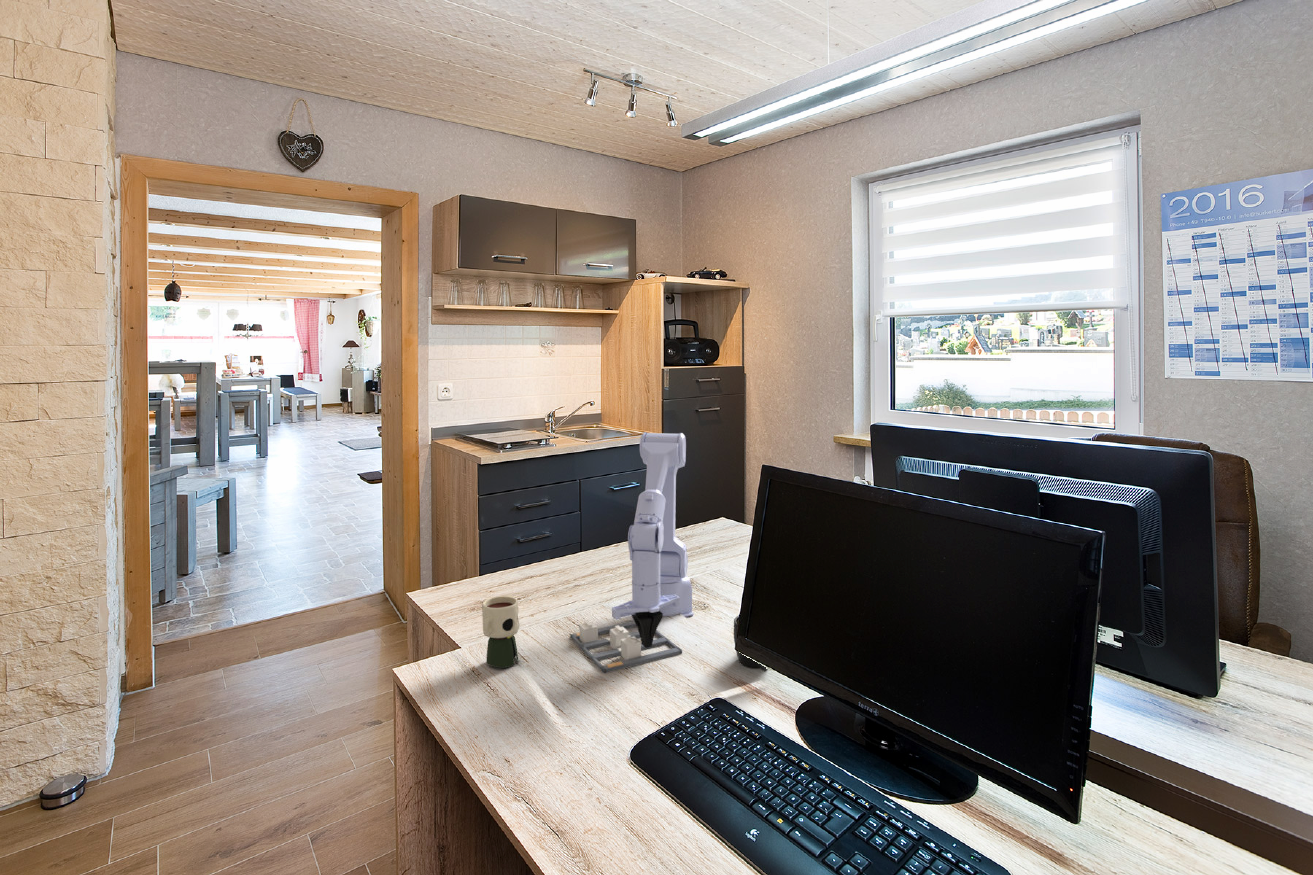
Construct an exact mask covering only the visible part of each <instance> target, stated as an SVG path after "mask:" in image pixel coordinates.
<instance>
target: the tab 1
mask: <svg viewBox="0 0 1313 875" xmlns="http://www.w3.org/2000/svg"><path fill="white" fill-rule="evenodd" d="M578 627H579V628H578V631H579V632H578V633H579V634H580V639H579V641H580V642H581V643H582V644H583V643H587V642H592V641H596V640H599V635H598V628H599V626H598V625H596V624H595V622H594V621H589V620H584V622H583V623H579V626H578Z"/></svg>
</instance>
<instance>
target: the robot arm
mask: <svg viewBox="0 0 1313 875" xmlns="http://www.w3.org/2000/svg"><path fill="white" fill-rule="evenodd" d="M686 439H687V438H686V435H685V434H684V433H683V432H679V433H665V432H663V433H661V432H660V433H659V432H658V433H657V432H656V433H655V432H654V433H653V432H642V434H641V435H640V439H639V454H640V457H641V460H642V462H643V464H644V465H646V475H645V476H646V477H645V489H644V491H642V492H641V493H640V494H639V495H638V499H637V505H636V509H635V510H636V511H635V515H634V516H635V517H634V521H633V524H631V525H630V526H629V528H628V532H627V533H628V534H627V542H628V544H627V546H628V551H629V560H630V561H631V589H632V590H631V591H632V592H631V598H632V599H631V600H629V601H627V602H624V603H622V604H619V605H616V606H612V607H611V617H612V618H613V619H615V620H616V621H617V620H620V619H621V618H623V617H627V616H628V617H629V616H630V617H632V619H633V620H632V621H634V622H635V624H636V626H637V627H636V629H637V631H639V634H640V638H639V639H640V642H641V643H642V645H643V646H644V647H645V648H648V647H652V643H653V640H655V636H656V635H655V632H656V630H657V629H658V626H659V625H660V623H661V622H662V620H663V618H664V617H671V616H676V615H679V614H681V616H682V615H683V617H690V616H694V615H695V613H694V612H693V587H692V586H693V585H692V581H691V579H690V578H689V576H687V573H688V566H689V565H688V563H689V560H688V558H689V556H688V547H687V545H686V544H685V543H684V542H683V541H682V540H680V538H678V537H677V536H676V513H677V512H676V507H677V506H676V502H677V500H676V498H677V497H676V496H677V494H676V490H677V485H676V484H677V473H678V470H679V469H681V468H683V467H685V465H686V461H687V460H686V458H687V457H686V456H687V454H686V452H687V441H686ZM657 631H658V630H657ZM652 648H653V647H652ZM648 649H649V648H648Z"/></svg>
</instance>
